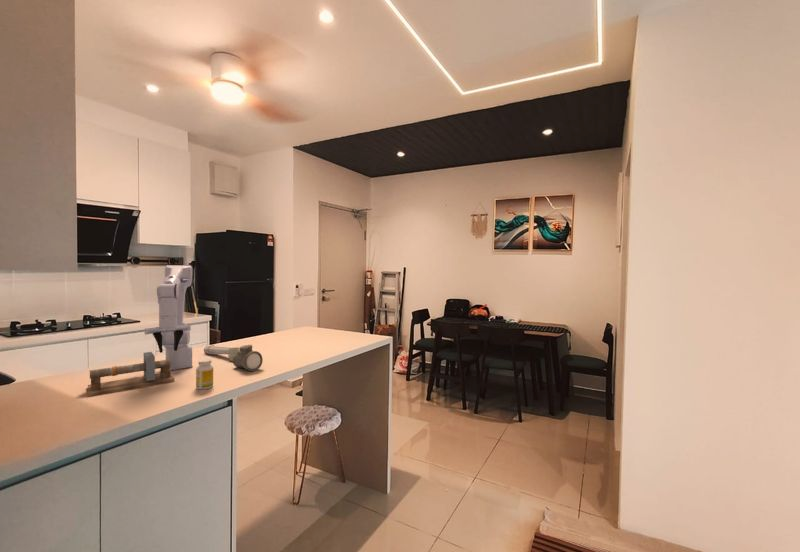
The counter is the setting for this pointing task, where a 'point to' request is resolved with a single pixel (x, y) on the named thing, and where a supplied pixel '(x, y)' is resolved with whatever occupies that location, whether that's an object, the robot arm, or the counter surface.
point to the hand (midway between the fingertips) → (168, 351)
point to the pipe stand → (129, 383)
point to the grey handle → (221, 351)
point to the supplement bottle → (204, 374)
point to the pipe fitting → (248, 358)
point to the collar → (149, 366)
